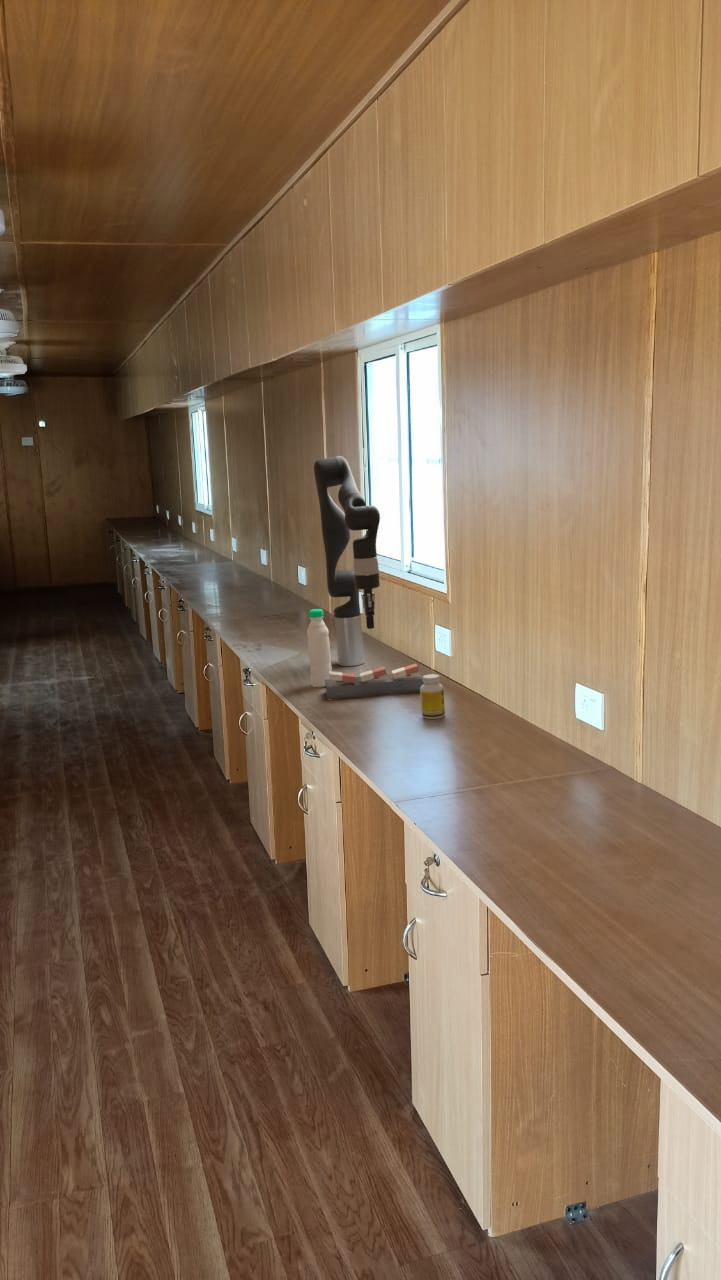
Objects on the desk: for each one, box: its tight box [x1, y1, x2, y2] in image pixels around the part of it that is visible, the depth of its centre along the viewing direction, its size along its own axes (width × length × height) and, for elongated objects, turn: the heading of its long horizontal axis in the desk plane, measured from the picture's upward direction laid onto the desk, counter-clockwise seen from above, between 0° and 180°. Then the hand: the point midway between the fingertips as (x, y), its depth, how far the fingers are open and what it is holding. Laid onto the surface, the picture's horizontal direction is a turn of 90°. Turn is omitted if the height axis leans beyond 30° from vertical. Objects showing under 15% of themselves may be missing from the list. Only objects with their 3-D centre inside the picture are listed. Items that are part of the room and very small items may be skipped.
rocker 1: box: [329, 670, 356, 683], centre depth 304 cm, size 4×8×2 cm, turn 94°
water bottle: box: [306, 608, 333, 688], centre depth 318 cm, size 7×7×25 cm
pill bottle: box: [419, 673, 446, 720], centre depth 274 cm, size 6×6×12 cm
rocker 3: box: [391, 663, 420, 679], centre depth 305 cm, size 4×8×2 cm, turn 94°
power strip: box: [325, 670, 424, 701], centre depth 307 cm, size 10×30×4 cm, turn 94°
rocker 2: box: [359, 665, 388, 682], centre depth 304 cm, size 4×8×2 cm, turn 94°
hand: (370, 628), depth 303 cm, fingers closed
